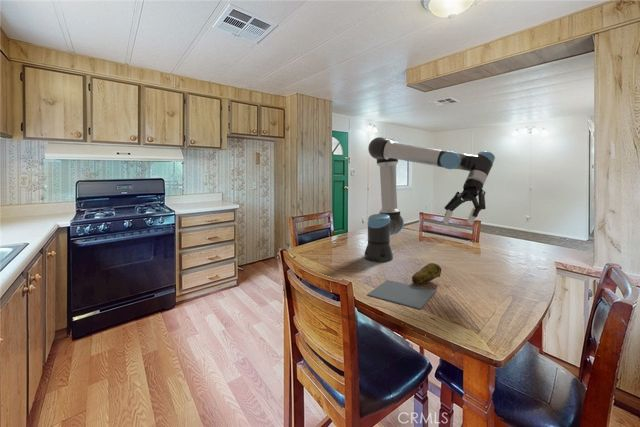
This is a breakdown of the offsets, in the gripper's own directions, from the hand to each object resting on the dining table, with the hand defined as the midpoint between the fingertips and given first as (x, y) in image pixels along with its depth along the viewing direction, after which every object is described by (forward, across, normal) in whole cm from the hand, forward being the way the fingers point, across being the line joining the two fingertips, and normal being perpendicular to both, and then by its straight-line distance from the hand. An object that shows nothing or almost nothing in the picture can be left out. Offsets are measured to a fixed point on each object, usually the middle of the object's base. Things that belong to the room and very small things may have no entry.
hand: (456, 223), depth 124 cm
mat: (+39, -4, +14) cm, 42 cm away
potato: (+30, +1, +1) cm, 30 cm away
